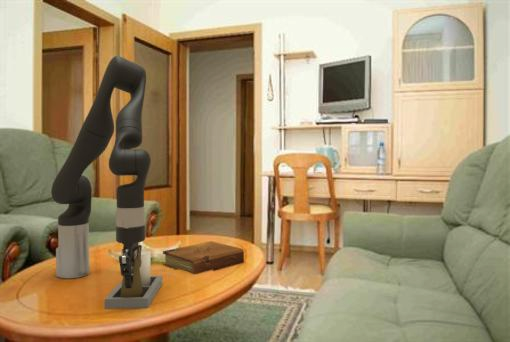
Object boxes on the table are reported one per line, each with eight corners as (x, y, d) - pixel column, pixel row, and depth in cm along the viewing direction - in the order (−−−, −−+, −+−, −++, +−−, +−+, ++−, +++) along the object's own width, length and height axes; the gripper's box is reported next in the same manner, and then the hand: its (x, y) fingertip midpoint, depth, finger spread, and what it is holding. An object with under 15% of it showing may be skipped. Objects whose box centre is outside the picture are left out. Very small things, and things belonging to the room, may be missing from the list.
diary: (194, 278, 130) (194, 261, 130) (162, 266, 143) (162, 251, 143) (243, 263, 147) (243, 248, 147) (211, 254, 160) (211, 240, 160)
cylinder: (126, 293, 112) (126, 255, 112) (132, 286, 118) (132, 250, 118) (148, 293, 113) (147, 255, 112) (152, 286, 119) (152, 249, 118)
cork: (129, 302, 102) (129, 261, 102) (115, 298, 106) (114, 257, 105) (148, 295, 107) (147, 256, 107) (133, 291, 111) (133, 252, 110)
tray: (104, 310, 101) (104, 299, 101) (126, 286, 120) (125, 276, 120) (147, 310, 102) (147, 298, 102) (162, 285, 121) (162, 275, 121)
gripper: (124, 219, 112) (124, 278, 113) (107, 228, 98) (108, 296, 99) (150, 219, 113) (151, 278, 114) (138, 228, 99) (138, 296, 99)
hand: (131, 286), depth 106 cm, fingers closed on cork, 3 cm apart
